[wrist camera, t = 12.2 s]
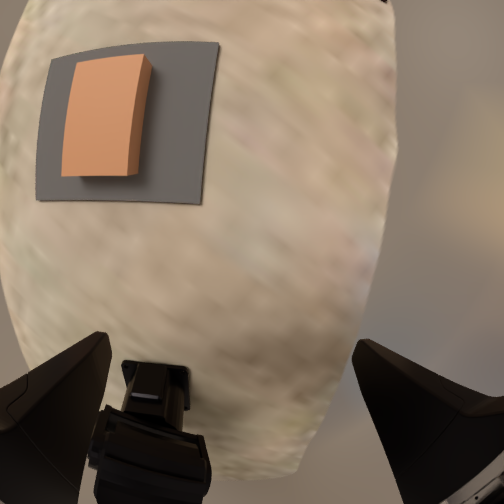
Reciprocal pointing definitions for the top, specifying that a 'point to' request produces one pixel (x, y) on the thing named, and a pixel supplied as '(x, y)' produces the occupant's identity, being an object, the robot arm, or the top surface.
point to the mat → (153, 131)
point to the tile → (106, 116)
